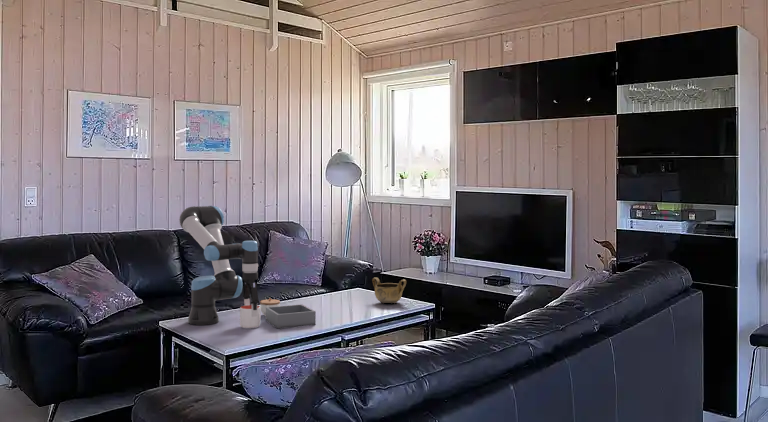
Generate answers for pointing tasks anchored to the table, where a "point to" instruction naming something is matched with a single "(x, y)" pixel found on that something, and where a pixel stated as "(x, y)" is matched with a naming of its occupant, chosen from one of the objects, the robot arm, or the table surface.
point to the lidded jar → (268, 304)
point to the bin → (290, 316)
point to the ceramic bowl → (388, 291)
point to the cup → (249, 317)
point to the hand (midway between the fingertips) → (250, 314)
